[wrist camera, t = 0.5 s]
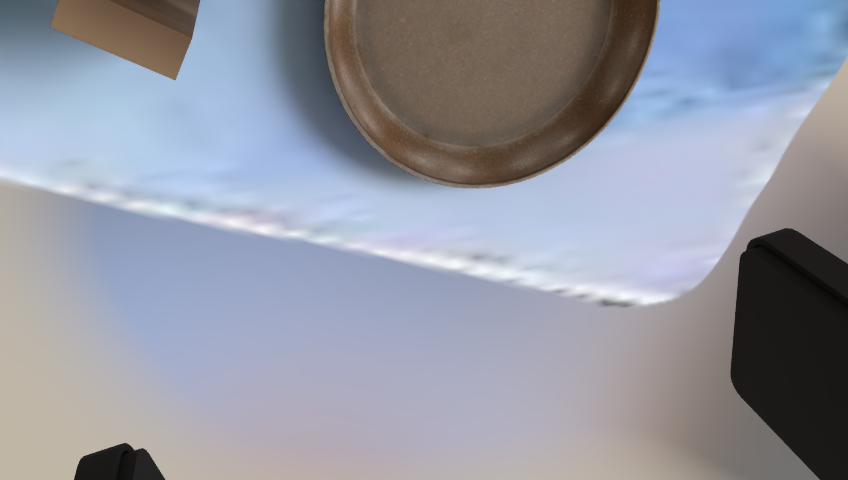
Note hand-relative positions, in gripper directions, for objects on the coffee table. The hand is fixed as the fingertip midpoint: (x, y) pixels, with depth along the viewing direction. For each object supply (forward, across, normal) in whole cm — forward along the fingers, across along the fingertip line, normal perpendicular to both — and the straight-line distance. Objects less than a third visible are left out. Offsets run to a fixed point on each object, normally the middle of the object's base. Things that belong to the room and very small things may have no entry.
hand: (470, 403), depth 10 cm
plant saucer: (+33, -11, +3) cm, 35 cm away
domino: (+33, +7, -3) cm, 34 cm away
